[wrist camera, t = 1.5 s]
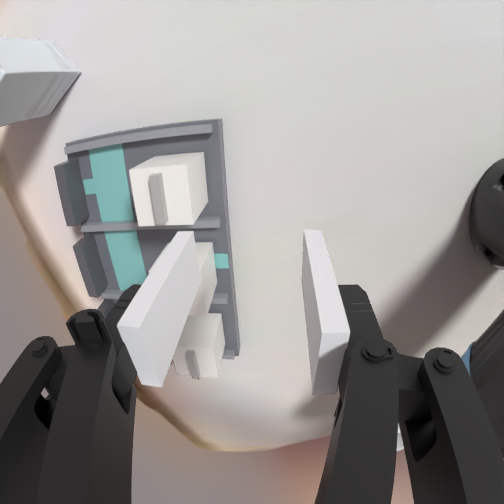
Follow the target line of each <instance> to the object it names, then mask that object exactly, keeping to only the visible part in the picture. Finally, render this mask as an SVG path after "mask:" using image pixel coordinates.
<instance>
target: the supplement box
mask: <svg viewBox="0 0 504 504" xmlns="http://www.w3.org/2000/svg"><path fill="white" fill-rule="evenodd" d="M80 73H81V71H80V70H79V69H78V67H77V66H76V65H75V64H74V62H73V61H72V60H71V59H70V58H69V56H68V55H67V54H66V53H65V52H64V50H63V49H62V48H61V47H60V45H59V44H58V43H57V42H56V41H54V40H44V39H31V38H15V37H0V127H2V126H5V125H9V124H13V123H17V122H21V121H25V120H29V119H33V118H38V117H43V116H48V115H50V114H51V113H52V111H53V110H54V108H55V107H56V105H57V104H58V103H59V101H60V100H61V98H62V97H63V96H64V94H65V93H66V92H67V90H68V89H69V87H70V86H71V85H72V84H73V82H74V81H75V80H76V78H77V77H78V76H79V75H80Z"/></svg>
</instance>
